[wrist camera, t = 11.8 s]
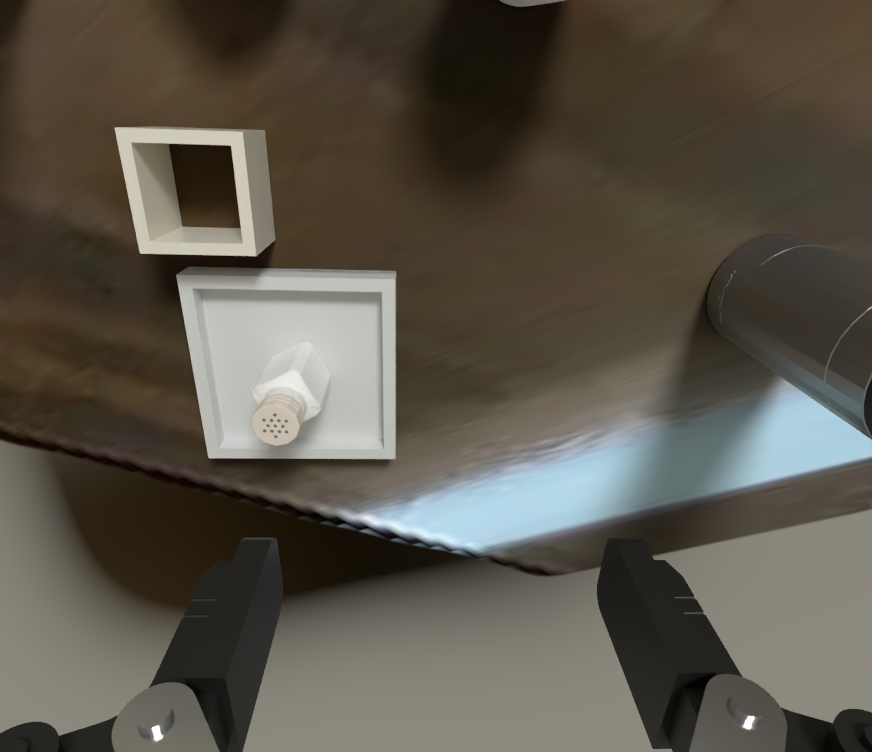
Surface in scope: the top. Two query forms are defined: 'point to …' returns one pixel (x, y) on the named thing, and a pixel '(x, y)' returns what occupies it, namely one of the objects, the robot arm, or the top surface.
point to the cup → (528, 2)
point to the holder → (159, 202)
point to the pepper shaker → (289, 394)
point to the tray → (286, 328)
